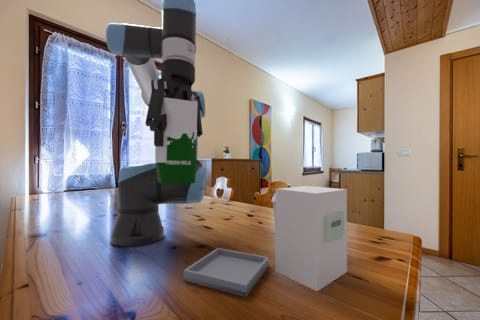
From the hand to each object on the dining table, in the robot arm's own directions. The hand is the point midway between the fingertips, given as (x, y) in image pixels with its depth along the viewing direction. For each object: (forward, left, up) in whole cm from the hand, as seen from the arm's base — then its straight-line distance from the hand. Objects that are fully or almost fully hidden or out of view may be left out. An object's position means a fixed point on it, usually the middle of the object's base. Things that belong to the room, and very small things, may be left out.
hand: (177, 162), depth 52 cm
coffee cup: (+20, +24, -24) cm, 39 cm away
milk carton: (0, 0, -5) cm, 5 cm away
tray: (+12, +3, -23) cm, 27 cm away
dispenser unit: (+28, +11, -23) cm, 38 cm away
